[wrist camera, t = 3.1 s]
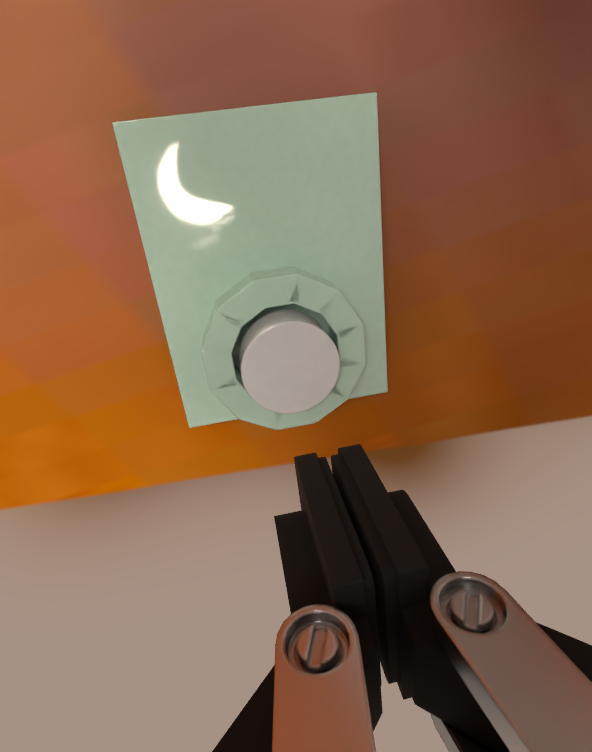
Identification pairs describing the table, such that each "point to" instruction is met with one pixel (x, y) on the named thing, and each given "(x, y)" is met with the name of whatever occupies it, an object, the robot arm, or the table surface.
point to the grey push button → (288, 362)
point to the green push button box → (261, 241)
